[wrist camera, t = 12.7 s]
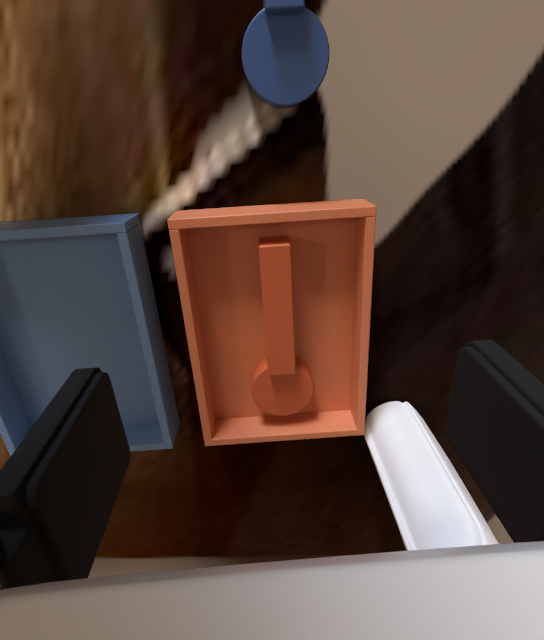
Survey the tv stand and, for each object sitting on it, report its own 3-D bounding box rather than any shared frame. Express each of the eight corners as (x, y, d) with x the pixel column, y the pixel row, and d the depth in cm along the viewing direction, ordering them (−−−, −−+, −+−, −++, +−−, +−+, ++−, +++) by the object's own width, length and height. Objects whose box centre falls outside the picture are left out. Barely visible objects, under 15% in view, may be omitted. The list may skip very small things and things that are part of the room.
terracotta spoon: (237, 238, 21) (236, 248, 19) (308, 233, 21) (313, 242, 19) (253, 404, 26) (253, 425, 24) (311, 400, 26) (315, 420, 24)
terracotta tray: (176, 210, 21) (166, 219, 19) (363, 198, 21) (376, 205, 19) (209, 420, 27) (204, 446, 25) (355, 410, 27) (364, 435, 25)
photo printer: (460, 481, 30) (581, 685, 19) (408, 504, 31) (495, 711, 20) (407, 387, 26) (521, 573, 15) (350, 415, 27) (417, 612, 16)
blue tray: (-51, 225, 21) (-89, 236, 19) (138, 213, 21) (124, 222, 19) (32, 432, 27) (11, 460, 24) (179, 422, 27) (172, 449, 25)
